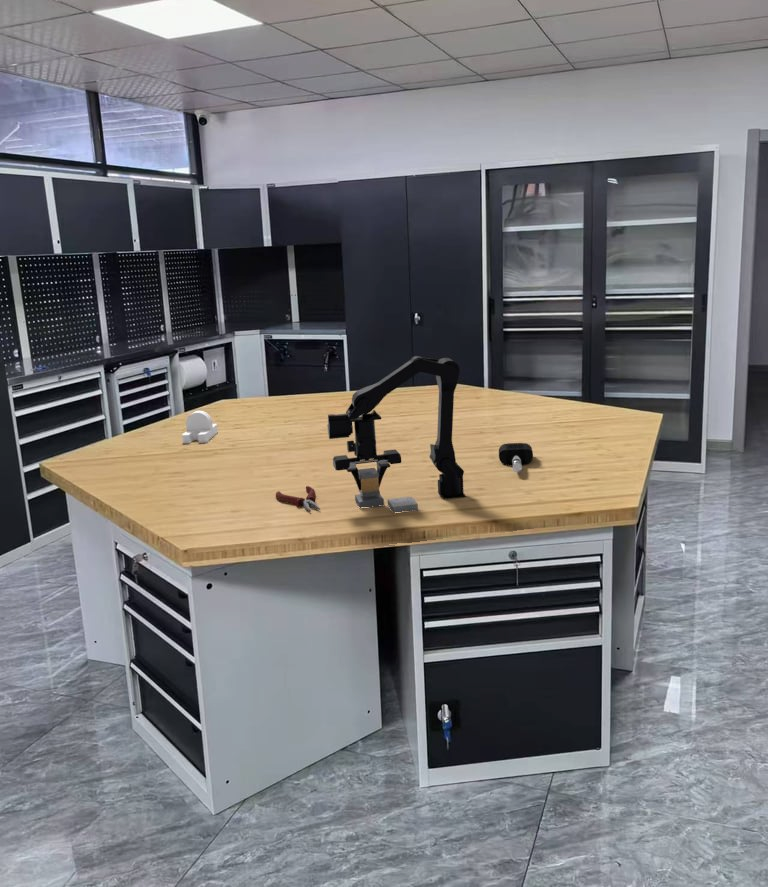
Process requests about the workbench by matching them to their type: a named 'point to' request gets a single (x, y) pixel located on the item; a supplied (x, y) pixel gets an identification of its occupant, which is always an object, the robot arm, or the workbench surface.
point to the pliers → (300, 499)
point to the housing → (369, 482)
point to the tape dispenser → (199, 428)
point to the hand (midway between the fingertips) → (368, 488)
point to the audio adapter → (515, 455)
